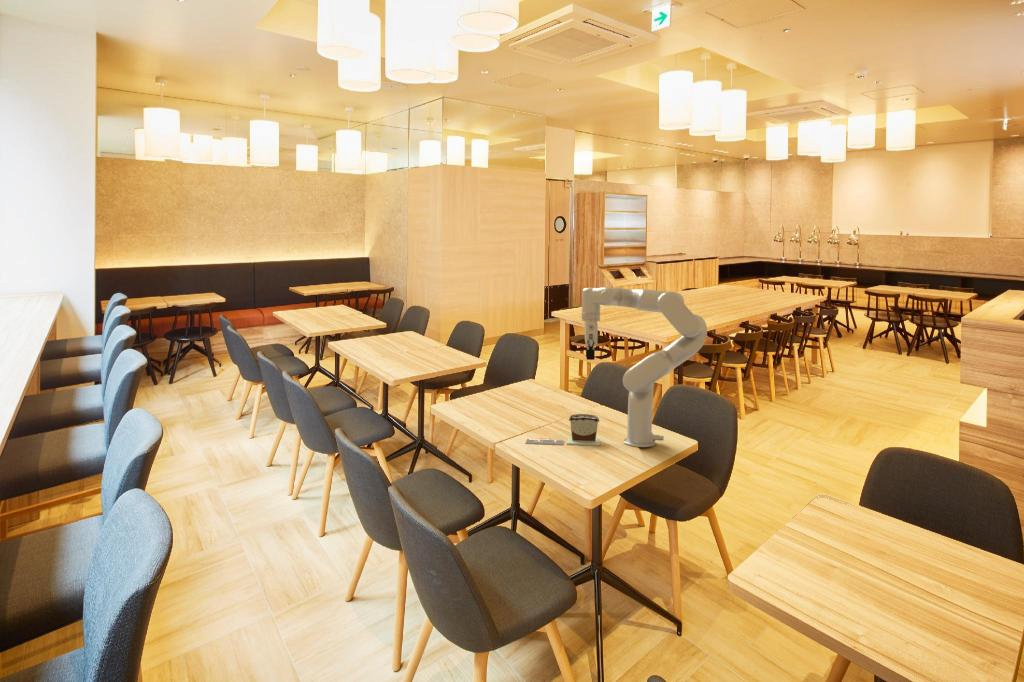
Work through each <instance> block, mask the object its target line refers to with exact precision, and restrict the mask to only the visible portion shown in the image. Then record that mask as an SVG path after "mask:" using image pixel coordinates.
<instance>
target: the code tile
mask: <svg viewBox="0 0 1024 682" xmlns="http://www.w3.org/2000/svg"><path fill="white" fill-rule="evenodd" d="M540 439H541V438H538V440H529V439H527V438H526V440H525V445H550V446H551V445H552V446H553V445H554V446H563V445H564V440H557V439H554V438H548V439H549V440H540Z"/></svg>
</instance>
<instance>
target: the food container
mask: <svg viewBox="0 0 1024 682" xmlns="http://www.w3.org/2000/svg"><path fill="white" fill-rule="evenodd" d="M568 422H569V423H570V432H571V438H572V441H591V442H595V441H596V439H597V432H598V424H599V423H600V418H599V416H598V415H594V414H588V413H577V414H576V413H575V414H571V415H570V416H569V419H568Z"/></svg>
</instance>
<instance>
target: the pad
mask: <svg viewBox="0 0 1024 682" xmlns="http://www.w3.org/2000/svg"><path fill="white" fill-rule="evenodd" d="M566 445H568V446H569V445H571V446H597V447H598V446H599V447H600V446H601V443H600V439H599V438H596V441H595V442H591V441H572V437H567V439H566Z"/></svg>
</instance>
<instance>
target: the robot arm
mask: <svg viewBox="0 0 1024 682" xmlns="http://www.w3.org/2000/svg"><path fill="white" fill-rule="evenodd" d="M601 306H606V307H607V306H608V307H609V306H613V307H614V306H615V307H626V308H631V309H636V310H638V311H642V312H653V313H661V314H662V315H663V316H664V318H665V319H666V320H667V321H668V322H669V323H670V325H672V327H673V328H674V329H675V330H676V331H677V332H678V334H680V335H681V336H680V337H679V338H678V339H676V340H675V341H673V342H672V343H670V344H668V345H667V346H666V347H664V348H663V349H661V350H658V351H655V352H653V353H650V354H649V355H648V356H646V357H644V358H643V359H642V360H640V361H639V362H638V363H636V364H634V365H633V366H631V367H630V368H629V369H627V370H626V371H625V372H624V374H623V377H622V385H623V387H624V388H625V389H626V390H627V391H628V399H627V402H628V404H627V433H626V435H627V437H625V438H624V439H623V440H622V441H623V442H622V443H623V444H624V445H627V446H629V447H634V448H635V447H636V448H651V447H654V446H655V445H656V441H659V442H660V441H661V442H663V441H664V435H660V434H654V433H653V432H652V429H653V427H652V425H653V423H652V422H653V402H654V401H653V397H654V388H655V383H656V382H657V381H659V380H660V379H662V378H663V377H665V376H666V375H668V374H670V373H671V372H672V371H673V370H675V369H676V368H677V367H679V366H680V365H681V364H683V363H684V362H686V361H687V360H689V359H690V358H692V357H693V356H694V355H696V354H697V353H698V352H699V351H700V350H701V349H702V348H703V346H704V344H705V343H706V340H707V336H708V327H707V323H706V321H705V319H704V318H703V317H702V316H700V315H699V314H694V313H693V312H692V311H691V310H690V308H689V307H688V306H686V304H685V299H684V296H683V295H682V294H680V293H679V292H677V291H670V290H669V291H666V290H657V289H646V288H640V289H634V288H633V289H630V288H621V287H620V288H619V287H613V286H604V287H585V288H583V289H582V293H581V322H584V342H585V343H584V344H585V345H586V348H585V358H586V360H589V361H592V360H593V361H594V360H595V355H596V354H595V353H596V350H595V346H597V345H598V340H599V339H598V332H599V331H598V330H599V329H598V328H599V327H598V325H599V324H598V322H600V321H601Z"/></svg>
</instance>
